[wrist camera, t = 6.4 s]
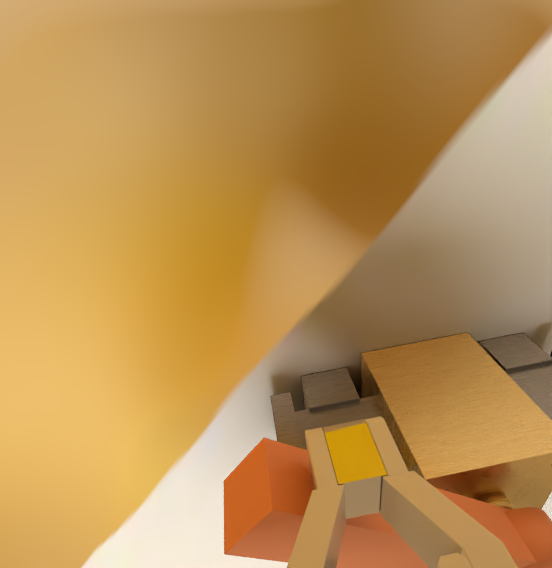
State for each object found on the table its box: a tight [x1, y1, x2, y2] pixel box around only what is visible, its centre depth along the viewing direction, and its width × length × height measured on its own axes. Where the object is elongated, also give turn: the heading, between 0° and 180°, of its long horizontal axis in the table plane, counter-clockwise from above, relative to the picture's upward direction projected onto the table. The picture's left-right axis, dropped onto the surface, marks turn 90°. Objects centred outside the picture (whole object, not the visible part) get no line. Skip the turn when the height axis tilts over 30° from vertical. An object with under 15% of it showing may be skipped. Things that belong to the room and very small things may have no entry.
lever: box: [224, 438, 552, 568], centre depth 13 cm, size 16×4×2 cm, turn 56°
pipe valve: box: [271, 333, 552, 510], centre depth 20 cm, size 19×7×9 cm, turn 97°
